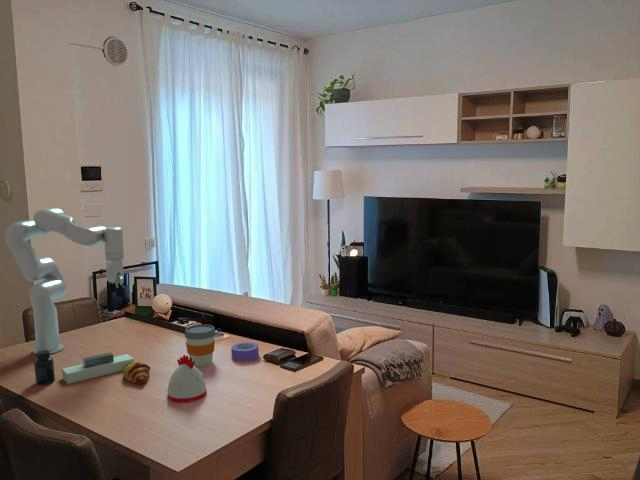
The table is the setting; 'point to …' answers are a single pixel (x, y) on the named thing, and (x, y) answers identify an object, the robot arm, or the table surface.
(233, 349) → the tape roll
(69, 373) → the rail
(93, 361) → the clip
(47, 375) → the supplement bottle
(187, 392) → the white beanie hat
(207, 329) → the reusable coffee cup
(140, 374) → the croissant
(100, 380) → the table surface
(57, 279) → the robot arm
